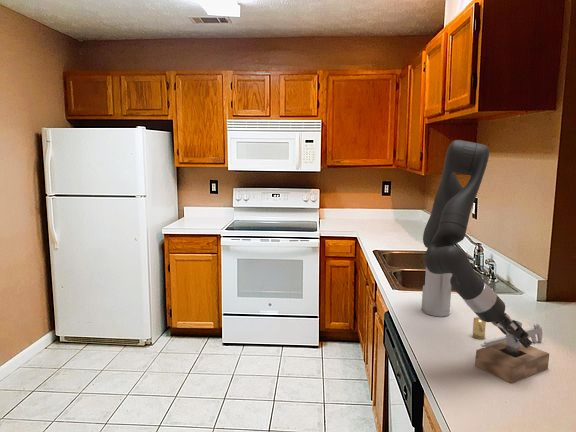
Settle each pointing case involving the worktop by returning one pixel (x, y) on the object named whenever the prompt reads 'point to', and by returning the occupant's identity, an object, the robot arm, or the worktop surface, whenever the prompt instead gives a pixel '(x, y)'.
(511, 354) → the long pin
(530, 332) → the caliper
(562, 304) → the worktop surface
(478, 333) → the short pin
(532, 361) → the hole block
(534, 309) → the worktop surface
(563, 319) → the worktop surface
